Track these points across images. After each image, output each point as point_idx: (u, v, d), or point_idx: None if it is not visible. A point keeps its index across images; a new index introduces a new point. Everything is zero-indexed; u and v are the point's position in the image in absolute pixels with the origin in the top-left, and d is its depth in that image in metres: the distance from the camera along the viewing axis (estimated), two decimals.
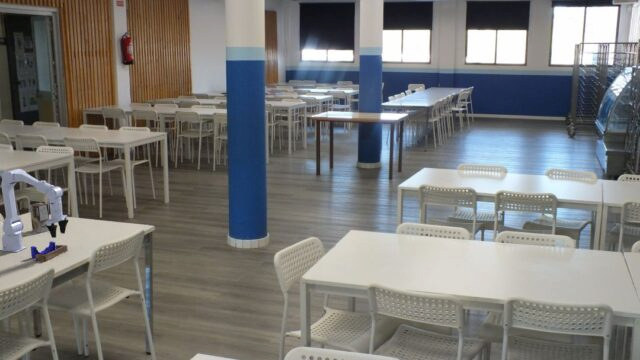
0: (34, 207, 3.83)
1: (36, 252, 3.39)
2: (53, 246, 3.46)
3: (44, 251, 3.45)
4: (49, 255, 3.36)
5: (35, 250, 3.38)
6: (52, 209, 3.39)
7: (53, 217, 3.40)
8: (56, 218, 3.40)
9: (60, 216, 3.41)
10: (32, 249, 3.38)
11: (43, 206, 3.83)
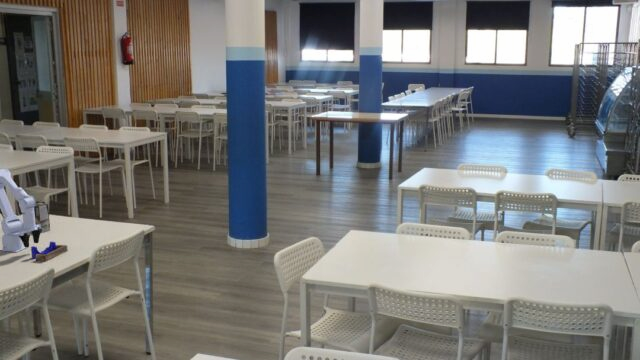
0: (34, 207, 3.83)
1: (36, 252, 3.39)
2: (54, 246, 3.46)
3: (44, 251, 3.45)
4: (49, 255, 3.36)
5: (35, 250, 3.38)
6: (23, 219, 3.40)
7: (26, 227, 3.40)
8: (29, 228, 3.40)
9: (33, 226, 3.42)
10: (32, 249, 3.38)
11: (43, 206, 3.83)
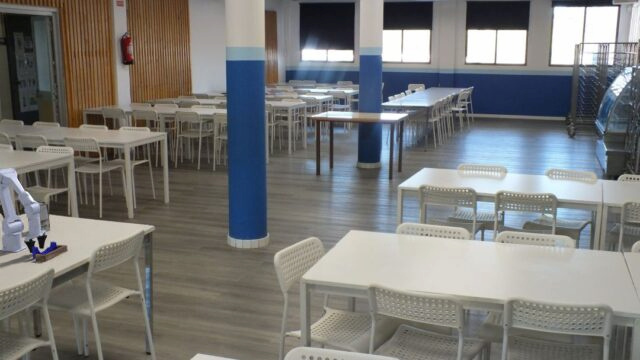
0: None
1: (38, 252, 3.38)
2: (55, 246, 3.46)
3: (45, 251, 3.45)
4: (49, 255, 3.36)
5: (37, 250, 3.38)
6: (29, 225, 3.40)
7: (31, 233, 3.40)
8: (34, 234, 3.40)
9: (38, 232, 3.42)
10: (34, 249, 3.38)
11: (43, 206, 3.83)
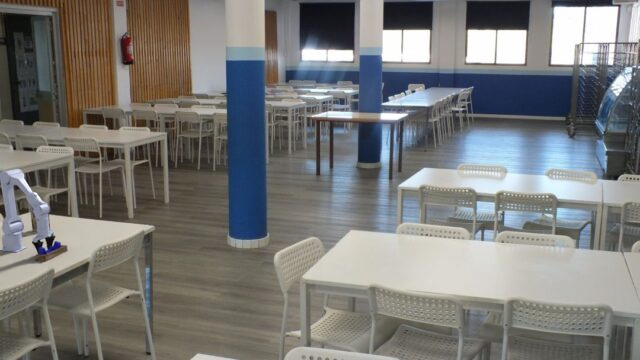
0: None
1: (44, 253, 3.37)
2: (59, 247, 3.46)
3: (49, 251, 3.44)
4: (49, 255, 3.36)
5: (44, 251, 3.36)
6: (38, 225, 3.38)
7: (39, 233, 3.39)
8: (42, 234, 3.39)
9: (47, 232, 3.40)
10: (40, 250, 3.36)
11: None
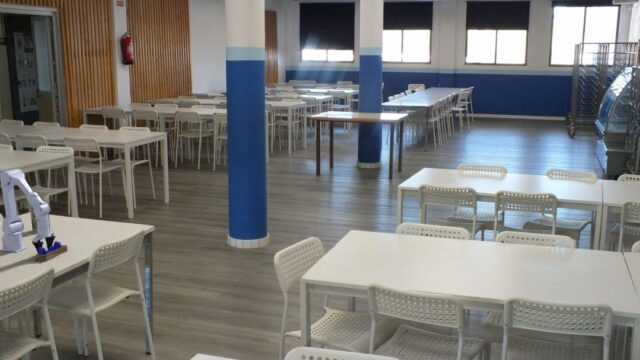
0: None
1: (44, 253, 3.37)
2: (59, 247, 3.46)
3: (49, 251, 3.44)
4: (49, 255, 3.36)
5: (44, 251, 3.36)
6: (38, 225, 3.38)
7: (40, 233, 3.39)
8: (43, 235, 3.39)
9: (47, 233, 3.40)
10: (40, 250, 3.36)
11: None
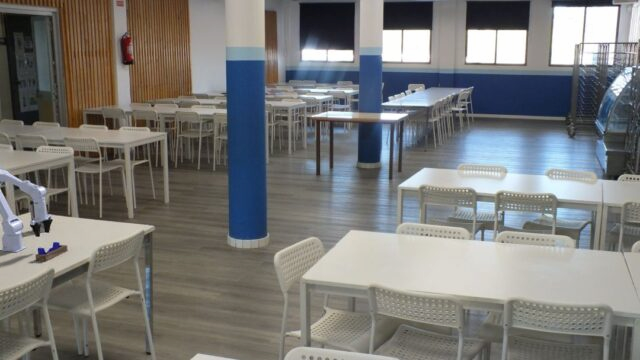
0: None
1: (44, 253, 3.37)
2: (58, 247, 3.46)
3: (49, 252, 3.44)
4: (49, 255, 3.36)
5: (43, 251, 3.37)
6: (36, 208, 3.42)
7: (37, 216, 3.43)
8: (40, 217, 3.43)
9: (44, 215, 3.45)
10: (40, 250, 3.36)
11: None
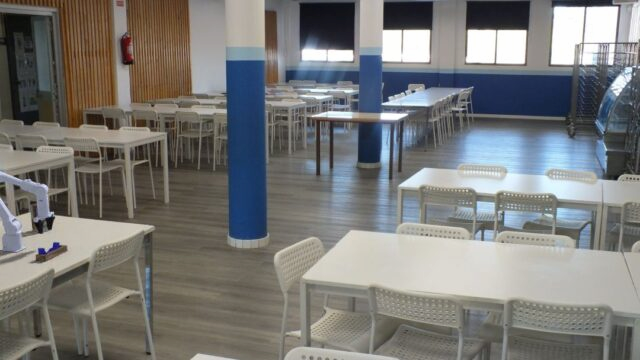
0: (34, 207, 3.83)
1: (44, 253, 3.37)
2: (58, 247, 3.46)
3: (49, 252, 3.44)
4: (49, 255, 3.36)
5: (43, 251, 3.36)
6: (41, 206, 3.48)
7: (40, 214, 3.48)
8: (43, 215, 3.49)
9: (47, 213, 3.50)
10: (40, 250, 3.36)
11: None
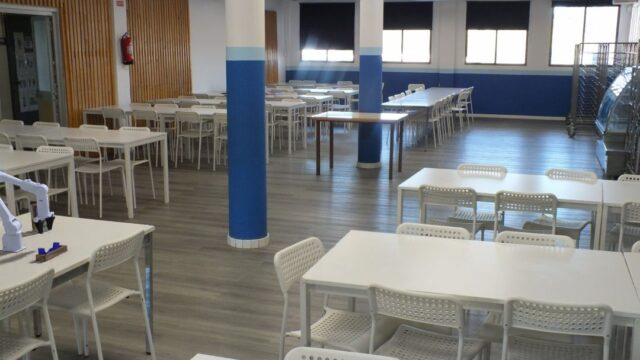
0: (34, 207, 3.83)
1: (44, 253, 3.37)
2: (58, 247, 3.46)
3: (49, 252, 3.44)
4: (49, 255, 3.36)
5: (43, 251, 3.36)
6: (41, 206, 3.48)
7: (40, 214, 3.48)
8: (43, 215, 3.49)
9: (47, 213, 3.50)
10: (40, 250, 3.36)
11: None
